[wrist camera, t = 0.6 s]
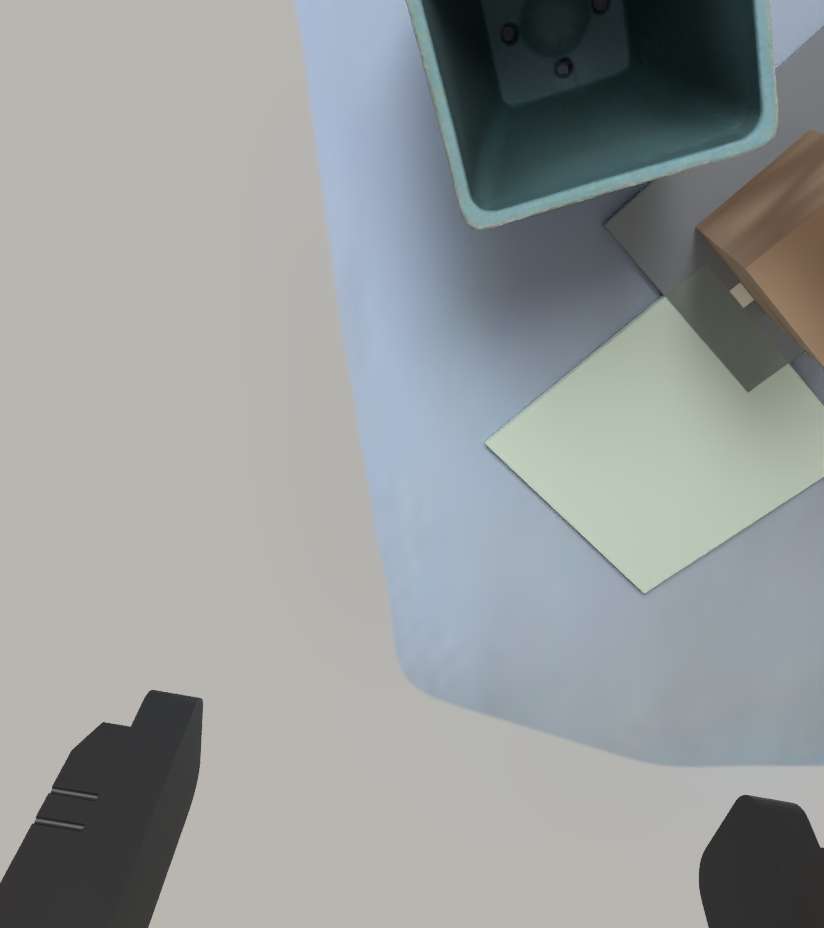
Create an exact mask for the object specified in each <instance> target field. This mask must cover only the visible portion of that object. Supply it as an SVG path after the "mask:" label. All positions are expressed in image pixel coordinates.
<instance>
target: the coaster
mask: <svg viewBox="0 0 824 928" xmlns="http://www.w3.org/2000/svg"><path fill="white" fill-rule="evenodd" d="M706 264H707V263H706ZM703 266H704V267H706V266H707V265H703ZM704 267H703V269H704V270H705V269H706V268H707V269H708V268H709V269H711V268H710V266H709V265H708V266H707V267H706V268H704ZM701 269H702V267H701ZM701 269H699V270H698V272H697V271H696V272H695V273H694V274H696V275H694V274H692V277H691V276H690V278H692V279H693V278H694V277H695V276H697V275H699V274H700V276H697V277H696V278H697V279H698V277H699V279H701V278H700V277H702V279H706V280H707V281H708V279H709V282H706V280H704V281H703V280H698V281H701V282H700V284H699V283H698V282H697V279H696V278H695V280H694V281H695V282H694V281H693V280H690V278H688V280H687V279H686V280H687V281H689V280H690V282H693V283H694V285H693V286H692V288H693V290H689V289H692V288H689V289H687V290H688V291H689V292H688V291H687V290H686V289H685V288H687V287H690V286H691V285H692V284H693V283H689V284H690V285H688V283H687V282H684V283H686V284H687V285H688V286H687V287H686V285H685V288H684V285H683V284H684V283H683V284H682V286H680V285H679V286H680V288H682V289H680V288H678V289H677V288H675V289H676V291H677V293H675V292H676V291H675V289H674V290H673V291H672V292H673V294H675V296H674V295H673V294H671V293H672V292H671V293H669V294H671V295H669V296H670V297H669V296H667V297H668V298H671V296H673V297H674V298H676V296H677V298H676V300H674V301H673V299H674V298H672V299H669V300H668V299H667V298H666V297H665V296H664V295H662V296H661V297H660V298H659V299H658V300H656V301H655V302H654V303H653V304H652V305H650V306H649V307H648V308H647V309H645V310H644V311H643V312H642V313H641V314H639V315H638V316H637V317H636V318H634V319H633V320H632V321H631V322H630V323H628V324H627V325H626V326H625V327H624V328H622V329H621V330H620V331H619V332H617V333H616V334H615V335H614V336H613V337H611V338H610V339H609V340H608V341H607V342H605V343H604V344H603V345H602V346H600V347H599V348H598V349H597V350H596V351H594V352H593V353H592V354H591V355H589V356H588V357H587V358H586V359H585V360H583V361H582V362H581V363H580V364H579V365H577V366H576V367H575V368H574V369H572V370H571V371H570V372H569V373H568V374H566V375H565V376H564V377H563V378H562V379H560V380H559V381H558V382H557V383H555V384H554V385H553V386H552V387H551V388H549V389H548V390H547V391H546V392H545V393H543V394H542V395H541V396H540V397H538V398H537V399H536V400H535V401H534V402H532V403H531V404H530V405H529V406H527V407H526V408H525V409H524V410H523V411H521V412H520V413H519V414H518V415H517V416H515V417H514V418H513V419H512V420H510V421H509V422H508V423H507V424H506V425H504V426H503V427H502V428H501V429H500V430H498V431H497V432H496V433H495V434H493V435H492V436H491V437H490V438H489V439H487V440H486V441H485V444H486V445H487V446H488V447H489V448H490V449H491V450H492V451H493V452H494V453H495V454H496V455H498V456H499V457H500V458H501V459H502V460H503V461H504V462H505V463H506V464H507V465H508V466H509V467H510V468H511V469H512V470H513V471H515V472H516V473H517V474H518V475H519V476H520V477H521V478H522V479H523V480H524V481H525V482H526V483H527V484H528V485H529V486H530V487H531V488H533V489H534V490H535V491H536V492H537V493H538V494H539V495H540V496H541V497H542V498H543V499H544V500H545V501H546V502H547V503H548V504H550V505H551V506H552V507H553V508H554V509H555V510H556V511H557V512H558V513H559V514H560V515H561V516H562V517H563V518H564V519H565V520H567V521H568V522H569V523H570V524H571V525H572V526H573V527H574V528H575V529H576V530H577V531H578V532H579V533H580V534H581V535H582V536H584V537H585V538H586V539H587V540H588V541H589V542H590V543H591V544H592V545H593V546H594V547H595V548H596V549H597V550H598V551H599V552H601V553H602V554H603V555H604V556H605V557H606V558H607V559H608V560H609V561H610V562H611V563H612V564H613V565H614V566H615V567H616V568H617V569H619V570H620V571H621V572H622V573H623V574H624V575H625V576H626V577H627V578H628V579H629V580H630V581H631V582H632V583H633V584H634V585H636V586H637V587H638V588H639V589H640V590H641V591H642V592H643V593H646V592H647V591H649V590H650V589H652V588H654V587H655V586H657V585H658V584H660V583H661V582H663V581H664V580H666V579H667V578H669V577H670V576H672V575H674V574H675V573H677V572H678V571H680V570H681V569H683V568H684V567H686V566H687V565H689V564H690V563H692V562H694V561H695V560H697V559H698V558H700V557H701V556H703V555H704V554H706V553H707V552H709V551H710V550H712V549H714V548H715V547H717V546H718V545H720V544H721V543H723V542H724V541H726V540H727V539H729V538H730V537H732V536H733V535H735V534H737V533H738V532H740V531H741V530H743V529H744V528H746V527H747V526H749V525H750V524H752V523H753V522H755V521H757V520H758V519H760V518H761V517H763V516H764V515H766V514H767V513H769V512H770V511H772V510H773V509H775V508H777V507H778V506H780V505H781V504H783V503H784V502H786V501H787V500H789V499H790V498H792V497H793V496H795V495H797V494H798V493H800V492H801V491H803V490H804V489H806V488H807V487H809V486H810V485H812V484H813V483H815V482H817V481H818V480H820V479H821V478H823V477H824V406H823V404H822V403H821V402H820V401H819V399H818V398H817V397H816V396H815V395H814V393H813V392H812V391H811V390H810V388H809V387H808V386H807V385H806V384H805V382H804V381H803V380H802V379H801V377H800V376H799V375H798V374H797V373H796V371H795V370H794V369H793V368H792V367H791V365H790V364H789V363H788V362H786V361H787V360H786V359H785V365H784V360H783V359H784V357H782V355H781V353H780V352H779V351H778V350H777V349H776V347H775V346H774V345H773V343H771V341H770V340H769V341H770V342H768V339H769V338H768V337H767V340H766V338H765V337H766V336H765V335H764V332H763V334H762V332H761V331H762V330H760V327H758V325H757V324H755V323H754V324H755V325H753V322H754V320H753V319H750V320H751V322H752V323H750V320H749V321H745V320H747V319H749V318H748V316H747V314H746V313H747V312H746V313H745V312H744V309H743V310H741V311H742V312H741V311H740V310H739V308H740V309H742V308H741V307H742V305H741V306H739V305H740V303H739V302H738V301H737V300H736V299H735V297H734V296H733V295H732V294H731V295H730V293H731V292H730V291H729V294H728V292H727V291H728V288H727V287H726V286H725V288H724V284H723V283H722V281H720V282H719V283H722V284H721V285H718V286H717V285H716V282H717V284H718V281H719V278H718V277H716V274H715V273H714V272H713V270H711V272H712V273H710V274H711V277H710V278H711V279H712V275H713V276H715V277H713V278H714V279H716V278H717V279H716V280H717V281H716V280H714V279H713V281H712V280H711V279H710V278H709V277H708V276H707V274H708V275H709V272H710V270H709V269H708V271H709V272H708V271H707V269H706V270H705V272H704V270H703V269H702V270H703V271H702V270H701ZM706 271H707V274H706ZM700 272H702V273H700ZM703 272H704V273H703ZM697 273H699V274H697ZM714 274H715V275H714ZM705 275H706V278H705ZM709 276H710V275H709ZM707 277H708V278H707ZM711 281H712V283H711ZM714 281H715V282H714ZM696 282H697V283H698V284H696V286H698V285H700V286H701V287H702V286H703V289H704V291H705V292H707V293H704V294H702V295H703V296H704V297H705V295H706V294H707V295H708V294H709V293H710V294H709V296H708V297H705V298H704V299H703V297H702V295H700V296H698V297H699V298H698V297H696V298H697V299H696V298H694V297H695V296H693V295H696V296H697V295H698V294H699V293H701V292H702V290H701V289H702V288H701V287H700V286H698V287H697V289H696V288H695V283H696ZM704 282H706V283H705V284H704V285H702V284H701V283H704ZM707 283H709V284H708V285H706V284H707ZM714 283H715V285H716V286H717V287H716V286H715V287H716V288H717V289H716V288H714ZM711 284H713V286H712V285H711ZM709 285H710V286H711V287H712V288H713V289H712V288H711V287H710V286H709ZM704 286H705V287H704ZM707 286H708V287H709V288H710V290H711V289H712V290H717V291H714V293H715V296H717V297H715V296H714V295H713V294H714V293H711V291H712V290H711V291H710V290H705V289H706V288H707ZM719 286H720V287H719ZM722 287H723V288H724V293H725V289H726V288H727V289H726V292H727V293H726V294H724V293H723V294H722V296H724V297H725V298H723V297H722V296H721V291H719V290H720V288H722ZM683 288H684V289H685V290H686V291H687V292H688V293H689V295H687V292H684V293H686V294H683V291H684V289H683ZM718 288H719V290H718ZM695 289H696V290H697V291H696V290H695ZM698 289H699V290H701V292H700V291H698ZM682 290H683V291H682ZM721 290H722V289H721ZM678 291H679V293H680V291H682V292H681V293H682V295H681V294H678ZM691 291H692V292H693V291H696V292H693V293H694V294H692V293H691ZM704 291H703V292H704ZM708 291H709V293H708ZM712 292H713V291H712ZM717 292H718V293H719V292H720V293H719V294H718V293H717ZM722 292H723V291H722ZM690 293H691V294H692V297H691V296H690V295H691V294H690ZM695 293H697V294H695ZM676 294H678V295H676ZM679 295H680V296H681V297H680V296H679ZM684 295H685V296H684ZM686 295H687V297H688V298H689V296H690V297H691V298H689V299H687V297H686ZM710 295H711V297H710ZM712 295H713V298H712ZM728 295H729V296H728ZM726 296H728V297H727V298H728V300H729V303H727V304H728V305H727V306H729V307H730V306H731V307H732V306H734V305H735V306H734V307H732V308H731V309H730V310H732V311H731V312H730V310H729V309H727V308H729V307H726V305H725V306H724V305H723V304H726V302H728V300H725V299H727V298H726ZM731 296H732V297H733V298H730V297H731ZM678 297H680V298H678ZM682 297H683V300H684V299H687V300H684V302H683V300H682V299H681V298H682ZM684 297H685V298H684ZM701 297H702V300H704V301H705V300H706V298H707V302H706V301H705V302H704V301H702V300H701V299H700V298H701ZM709 297H710V298H709ZM719 297H720V298H719ZM693 298H694V299H693ZM716 298H717V300H718V301H719V302H720V300H721V301H724V302H725V303H724V302H722V304H721V303H720V305H719V304H718V303H719V302H717V300H716ZM718 298H719V299H718ZM722 298H723V300H722ZM729 298H730V299H733V300H731V302H730V299H729ZM680 299H681V301H679V300H680ZM699 299H700V300H701V301H702V303H699V302H700V300H699ZM708 299H709V301H708ZM711 299H715V300H713V301H712V300H711ZM671 300H672V301H673V303H675V301H676V302H677V301H679V302H677V303H676V304H674V305H676V308H675V307H674V306H673V303H672V301H671ZM688 300H691V301H692V302H691V301H690V302H691V304H690V303H689V302H688ZM693 300H694V301H695V300H697V301H698V300H699V301H698V302H697V304H696V301H695V305H697V306H695V305H693V306H691V305H692V304H693V303H694V302H693ZM734 300H735V301H736V302H735V303H734V302H733V301H734ZM670 301H671V303H670ZM686 301H687V302H688V303H689V304H690V305H688V303H687V302H686ZM711 301H712V303H713V306H715V305H716V304H715V303H714V302H717V304H718V305H717V307H715V308H716V311H715V309H713V308H714V307H713V306H710V307H709V304H710V305H712V303H711ZM681 302H682V303H681ZM685 302H686V303H685ZM709 302H710V303H709ZM732 302H733V303H732ZM704 303H705V304H707V305H708V306H705V304H704ZM708 303H709V304H708ZM731 303H732V305H730V304H731ZM736 303H737V305H736ZM738 303H739V305H738ZM677 304H678V305H677ZM679 304H681V305H682V307H684V306H685V304H686V305H687V306H686V307H684V309H682V308H681V307H679V306H681V305H679ZM683 304H684V305H683ZM700 304H701V309H700V312H701V313H702V314H703V313H705V312H706V310H708V309H706V308H707V307H709V310H708V311H709V312H710V314H711V316H712V317H711V318H709V319H708V318H707V317H708V316H709V317H710V315H709V312H706V313H707V314H706V313H705V316H706V315H707V316H706V317H705V316H704V318H707V319H706V321H705V325H706V323H709V321H710V322H711V320H710V319H712V321H713V320H715V319H716V318H719V317H717V316H714V315H716V314H718V316H721V312H723V313H725V312H726V311H727V314H725V316H724V315H723V317H722V316H721V317H722V318H721V319H722V324H720V325H721V326H720V325H719V324H718V325H717V323H719V322H720V320H721V319H720V318H719V319H718V320H719V322H717V321H716V320H715V321H716V322H715V321H713V322H711V323H709V325H706V326H705V325H703V324H704V323H703V322H704V321H703V322H701V321H702V320H704V319H703V317H702V315H701V313H699V308H700ZM703 304H704V307H703V306H702V305H703ZM714 304H715V305H714ZM698 305H699V306H698ZM722 305H723V306H722ZM689 306H691V308H692V309H693V310H695V309H696V310H697V309H698V311H695V312H694V311H693V310H692V309H691V308H689ZM694 306H695V309H694V308H693V307H694ZM721 306H722V307H721ZM736 306H737V307H736ZM677 307H678V309H679V311H678V310H677ZM687 307H688V309H687V310H688V311H689V309H690V310H691V311H693V313H691V314H692V317H693V318H694V317H696V316H695V315H697V317H698V315H699V314H700V315H701V318H702V320H701V318H700V315H699V318H698V321H699V322H698V321H696V318H695V319H691V318H692V317H691V314H690V312H691V311H689V312H688V311H687V310H685V309H686V308H687ZM696 307H697V308H696ZM702 307H703V308H704V309H705V310H704V309H703V308H702ZM705 307H706V308H705ZM712 307H713V308H712ZM719 307H721V308H719ZM735 307H736V308H735ZM710 308H712V309H711V311H712V313H713V314H714V312H716V313H715V314H714V315H713V314H712V313H711V311H710ZM717 308H718V309H720V311H719V310H718V309H717ZM722 308H723V309H722ZM733 308H735V310H734V309H733ZM737 308H738V310H737ZM680 309H681V311H680ZM721 309H722V310H721ZM724 309H725V310H726V311H724ZM683 310H684V311H686V312H684V311H683ZM701 310H702V311H703V310H704V311H703V312H702V311H701ZM713 310H714V312H713ZM736 310H737V311H736ZM682 311H683V312H684V313H686V314H688V313H689V314H688V315H689V316H690V317H688V316H687V315H686V314H684V313H683V312H682ZM717 311H718V312H717ZM728 311H729V313H732V314H731V315H729V313H728ZM733 311H734V312H733ZM745 311H746V310H745ZM681 312H682V316H681ZM697 312H698V313H699V314H697ZM738 312H739V313H738ZM740 312H741V314H742V315H740ZM743 312H744V313H743ZM694 313H696V314H694ZM734 313H735V314H734ZM736 313H737V315H736ZM733 314H734V315H735V317H734V316H733ZM743 314H744V315H743ZM685 315H686V316H687V318H688V319H689V320H690V319H691V320H692V321H693V320H695V321H696V322H697V323H698V324H699V326H697V325H696V324H697V323H696V322H695V321H693V322H692V321H691V320H690V322H691V324H690V323H689V322H687V321H689V320H687V318H686V317H685V318H686V319H685V318H683V316H685ZM703 315H704V314H703ZM728 315H729V316H728ZM739 315H740V316H739ZM745 315H746V316H745ZM748 315H749V314H748ZM726 316H727V317H726ZM732 316H733V317H732ZM737 316H739V317H740V319H738V318H739V317H738V318H737V319H736V320H737V321H736V322H735V319H734V320H732V319H733V318H736V317H737ZM741 316H743V317H742V318H743V319H742V318H741ZM749 316H750V315H749ZM713 317H714V319H713ZM715 317H716V318H715ZM725 317H726V318H725ZM728 317H729V318H728ZM730 317H732V318H730ZM744 317H746V318H745V320H744ZM724 318H725V319H727V318H728V319H729V322H727V323H726V322H725V319H724ZM750 318H751V316H750ZM699 319H700V320H701V321H700V320H699ZM728 319H727V320H726V321H728ZM730 319H731V320H732V321H731V320H730ZM741 319H742V320H741ZM708 320H709V321H708ZM739 320H740V321H741V322H742V323H743V321H744V326H742V325H743V324H742V323H741V322H740V321H739ZM730 321H731V322H730ZM733 321H734V322H735V323H734V324H735V325H736V323H737V324H738V322H739V324H740V323H741V324H742V325H740V328H739V327H737V326H739V324H738V325H737V326H734V325H733ZM694 322H695V323H694ZM714 322H715V323H716V324H715V323H714ZM724 322H725V323H726V324H724ZM688 323H689V324H688ZM700 323H703V324H701V326H704V327H701V326H700ZM713 323H714V325H713ZM729 323H730V324H731V323H732V325H731V326H728V325H730V324H729ZM745 323H746V324H747V325H746V326H745ZM748 323H749V324H748ZM693 324H694V325H693ZM723 324H724V325H723ZM750 324H752V325H750ZM711 325H712V326H714V329H717V331H716V330H715V331H714V329H713V328H712V326H711ZM715 325H717V326H716V328H715ZM722 325H723V326H722ZM748 325H750V326H748ZM691 326H692V327H693V326H695V327H693V328H694V329H693V328H692V327H691ZM696 326H697V328H696ZM707 326H708V327H709V329H710V330H711V329H712V330H711V331H712V332H711V331H710V330H709V329H708V328H707ZM724 326H725V327H726V326H728V327H726V328H724ZM732 326H734V327H732ZM741 326H742V327H743V328H741ZM753 326H754V327H753ZM755 326H756V327H755ZM705 327H706V328H707V329H706V328H705ZM718 327H719V328H718ZM722 327H723V328H724V329H723V328H722ZM731 327H732V328H731ZM745 327H747V328H746V329H748V330H749V329H750V330H749V331H747V330H746V329H745ZM749 327H750V328H749ZM751 327H752V329H753V328H754V329H755V328H756V329H755V331H753V332H751V333H750V334H748V332H750V331H752V329H751ZM701 328H702V330H701ZM703 328H705V329H704V330H705V331H706V332H708V331H707V330H709V331H710V332H711V333H710V332H708V333H705V332H704V333H703V331H704V330H703ZM727 328H729V333H727V334H728V336H727V334H726V332H727V331H728V329H727ZM730 328H731V331H732V333H733V330H734V329H733V328H736V330H737V328H738V329H739V330H738V331H740V332H741V331H742V332H743V331H744V332H743V333H744V335H746V336H745V339H746V340H744V343H745V344H746V343H748V342H751V343H748V344H749V346H750V344H752V345H751V346H752V347H751V348H748V347H749V346H748V345H747V348H748V349H747V348H746V345H745V344H744V343H743V340H742V339H744V335H743V334H742V332H741V334H742V335H740V332H739V334H737V332H738V331H736V330H734V333H733V334H735V333H736V335H740V336H741V337H743V338H741V340H742V341H741V340H740V341H741V342H738V339H740V336H738V337H739V338H735V337H733V335H732V334H731V332H730ZM757 328H758V329H757ZM696 329H697V330H698V329H700V331H699V332H700V333H703V334H702V335H704V334H705V335H706V336H705V335H704V337H703V338H705V341H706V340H707V339H706V337H707V338H708V339H709V340H708V342H706V343H705V342H704V341H703V338H702V335H701V334H700V333H699V332H697V333H698V334H697V333H696ZM718 329H719V333H720V329H722V330H723V331H722V330H721V334H720V335H719V333H718ZM732 329H733V330H732ZM741 329H743V330H741ZM754 329H753V330H754ZM724 330H725V331H724ZM745 330H746V333H745ZM758 330H759V331H760V332H758V333H761V336H762V337H764V336H765V337H764V338H765V340H766V341H765V340H764V338H761V336H758V334H757V332H756V331H758ZM701 331H702V332H701ZM716 332H717V333H716ZM724 332H725V333H724ZM712 333H713V334H714V333H715V334H716V335H717V334H718V335H719V336H717V337H718V338H719V339H718V338H717V337H716V336H715V334H714V335H712ZM722 333H723V334H724V335H723V334H722ZM752 333H753V335H752V338H753V339H751V334H752ZM754 333H756V334H754ZM707 334H708V335H707ZM709 334H710V335H712V336H710V335H709ZM730 334H731V335H730ZM721 335H722V337H721V338H722V343H720V339H721V338H720V336H721ZM736 335H734V336H736ZM748 335H750V336H749V338H750V340H749V338H748V340H749V341H748V340H747V338H746V337H748ZM756 335H757V336H756ZM709 336H710V337H711V338H712V339H711V340H710V337H709ZM725 336H726V341H727V339H728V340H729V341H728V342H726V341H725ZM730 336H731V337H730ZM753 336H755V337H756V338H755V337H753ZM713 337H714V340H715V342H714V341H713ZM715 337H716V338H715ZM727 337H728V338H727ZM729 337H730V338H729ZM736 337H737V336H736ZM758 337H759V338H758ZM701 338H702V339H701ZM732 338H733V339H735V340H733V339H732ZM754 338H755V339H754ZM760 338H761V339H762V340H764V341H763V342H762V340H761V339H760ZM716 339H717V341H716ZM723 339H724V340H723ZM730 339H731V341H732V342H733V341H736V343H735V342H734V343H732V345H733V346H732V345H730V346H731V348H730V346H728V349H727V345H728V344H729V343H730V344H731V341H730ZM736 339H737V340H736ZM759 339H760V340H761V341H759ZM751 340H753V341H751ZM756 340H758V342H759V343H760V342H761V345H760V344H759V343H758V342H757V341H756ZM712 341H713V342H714V343H713V346H712V345H710V346H711V347H712V349H713V350H714V351H713V350H712V349H710V348H711V347H708V345H709V344H708V343H710V344H712ZM718 341H719V342H718ZM746 341H747V342H746ZM754 341H756V343H755V342H754ZM716 342H717V344H718V343H720V344H718V345H715V344H716ZM724 342H725V343H726V345H723V346H725V347H726V350H727V351H724V350H723V346H722V344H723V343H724ZM753 342H754V343H755V345H757V343H758V344H759V348H760V349H762V350H759V351H758V352H757V350H758V349H759V348H758V345H757V346H755V345H754V344H753ZM764 342H765V343H766V342H768V343H769V344H770V343H771V344H772V345H773V346H774V347H773V348H772V347H768V343H766V346H765V344H764ZM738 343H739V344H740V346H738V349H739V347H741V346H742V345H743V344H744V346H745V347H744V346H742V347H743V350H742V349H739V351H738V349H737V345H739V344H738ZM741 343H743V344H742V345H741ZM762 343H763V344H764V345H763V347H761V346H762ZM734 344H737V345H734ZM771 344H770V346H772V345H771ZM714 345H715V346H716V347H717V348H718V346H719V345H720V346H719V347H720V348H722V349H721V350H722V352H721V351H720V350H719V349H720V348H718V349H716V347H715V346H714ZM753 345H754V346H755V348H756V347H757V348H758V349H757V350H754V348H753ZM713 347H714V348H713ZM725 347H724V349H725ZM742 347H741V348H742ZM765 347H766V349H767V351H768V354H770V352H772V351H775V349H776V351H777V352H773V354H771V355H768V354H767V353H766V354H767V355H766V354H765V352H767V351H766V350H765ZM734 348H735V349H736V353H737V352H740V353H742V355H741V354H740V353H739V355H741V356H739V355H738V353H737V354H736V353H735V350H734ZM745 348H746V349H747V350H748V351H746V352H745ZM763 348H764V349H763ZM768 348H769V349H771V348H772V349H773V350H771V351H770V350H769V349H768ZM774 348H775V349H774ZM715 349H716V350H717V351H720V354H719V357H720V355H721V357H720V359H719V358H718V353H719V352H718V353H715V354H714V353H713V352H715ZM730 349H731V350H730ZM732 349H733V350H734V352H732V351H733V350H732ZM740 350H741V351H740ZM750 350H751V352H749V351H750ZM752 350H754V351H753V352H754V353H755V354H753V355H754V356H755V355H757V354H758V353H759V356H760V355H762V353H763V354H764V355H766V358H765V356H764V355H762V356H761V357H758V355H757V357H756V356H755V357H756V358H757V359H756V360H757V361H756V360H755V361H753V362H754V363H755V362H756V363H755V365H754V364H753V363H752V361H751V360H754V358H755V357H754V356H753V355H752V354H751V353H753V352H752ZM763 350H765V352H762V351H763ZM712 351H713V352H712ZM723 351H724V352H723ZM729 351H731V352H730V354H731V353H732V354H731V355H729V353H728V352H729ZM760 351H761V352H762V353H761V354H760ZM769 351H770V352H769ZM756 352H757V353H756ZM723 353H727V355H726V354H725V355H726V357H724V355H723ZM743 353H744V354H745V353H746V354H747V353H749V354H750V355H749V354H748V355H749V356H750V357H747V356H748V355H746V354H745V355H746V356H745V358H746V359H744V358H743V357H744V355H743ZM774 353H775V354H776V355H774ZM777 353H778V354H779V355H780V356H781V358H782V359H781V360H782V361H781V362H780V356H779V355H777ZM733 354H735V355H734V357H733ZM722 355H723V356H722ZM728 355H729V357H730V356H731V357H733V358H735V359H734V360H736V359H738V357H742V356H743V357H742V359H738V360H736V361H737V362H736V361H735V362H734V364H735V365H736V363H737V365H738V367H740V366H741V369H739V368H738V367H736V366H737V365H736V366H735V365H734V364H733V363H732V362H733V360H732V359H731V360H732V361H730V358H731V357H730V358H729V357H727V356H728ZM773 355H774V356H776V357H775V358H777V357H778V358H777V359H775V358H774V357H773ZM735 356H738V357H737V358H736V357H735ZM768 356H769V358H768ZM770 356H772V357H771V359H770ZM723 357H724V359H722V362H723V361H724V362H725V363H726V365H727V366H724V365H725V364H723V363H724V362H723V363H722V362H721V358H723ZM751 357H752V358H753V357H754V358H753V359H750V358H751ZM763 357H764V358H765V360H764V358H763ZM728 358H729V360H728ZM747 358H749V360H748V361H750V363H749V362H748V361H747V362H745V361H746V360H747ZM772 358H773V359H772ZM725 359H726V360H725ZM743 359H744V360H743ZM759 359H763V360H764V362H763V361H762V360H761V361H759V363H760V364H757V362H758V360H759ZM769 359H770V360H771V361H770V360H769ZM740 360H741V362H739V361H740ZM773 360H775V361H773ZM776 360H777V361H776ZM726 361H727V362H726ZM728 361H730V362H731V363H732V364H731V363H728ZM743 361H744V362H745V363H749V364H748V365H750V366H752V365H753V366H756V365H758V366H756V367H757V368H758V370H759V371H758V370H757V369H756V368H755V369H756V371H758V373H759V372H761V370H762V369H761V368H762V367H763V369H764V367H765V369H764V371H763V372H762V373H761V375H762V376H763V373H764V372H766V374H765V373H764V374H765V375H764V376H763V377H765V379H766V377H767V379H766V380H764V379H763V377H762V376H761V375H760V374H758V373H757V372H756V371H755V369H753V367H750V366H748V367H746V365H745V363H744V365H745V366H744V365H743V364H741V363H743ZM766 361H767V362H769V361H770V362H772V361H773V364H772V363H771V364H770V363H768V364H767V363H765V362H766ZM761 362H762V363H761ZM777 362H779V364H781V366H780V365H779V364H778V366H779V368H780V367H781V369H779V368H778V366H777V364H776V363H777ZM739 363H740V364H741V365H740V366H739ZM763 363H765V364H763ZM782 363H783V365H782ZM787 363H788V364H787ZM762 364H763V365H762ZM774 364H775V365H774ZM729 365H732V367H733V368H735V367H736V368H737V369H736V368H735V369H736V370H735V369H733V368H732V367H730V368H731V371H732V369H733V370H734V372H735V374H737V376H738V374H740V376H738V378H739V379H738V378H735V377H736V375H735V374H734V372H733V371H732V374H733V375H732V374H731V373H730V370H729V369H730V368H729V369H727V367H729ZM742 365H743V366H744V367H743V370H744V371H745V369H746V373H753V371H754V373H753V375H752V376H749V375H748V374H746V375H745V376H744V375H743V374H745V372H743V371H742ZM759 365H761V367H759ZM765 365H769V366H771V365H772V366H771V367H769V366H767V367H766V366H765ZM773 365H774V366H773ZM734 366H735V367H734ZM775 366H776V367H777V368H778V369H777V368H775ZM749 367H750V368H749ZM768 367H769V369H770V371H771V373H772V372H773V373H772V374H773V375H772V374H771V376H770V375H768V373H769V374H770V371H768V373H767V371H765V370H766V369H767V370H769V369H768ZM773 367H774V368H775V369H773ZM782 367H783V368H782ZM744 368H745V369H744ZM748 368H749V369H750V370H751V371H750V370H749V369H748ZM751 368H752V369H751ZM759 368H760V369H761V370H760V369H759ZM771 368H772V369H773V370H772V369H771ZM738 369H739V370H738ZM747 369H748V370H747ZM776 369H777V371H776V373H774V372H775V370H776ZM752 370H753V371H752ZM736 371H737V372H736ZM738 371H739V372H740V371H742V372H743V373H742V374H741V373H738ZM747 371H748V372H747ZM749 371H750V372H749ZM755 373H756V374H755ZM757 374H758V375H757ZM734 375H735V377H734ZM741 375H743V377H742V376H741ZM754 375H755V378H754V379H755V380H754V379H753V376H754ZM767 375H768V376H769V377H768V376H767ZM746 376H747V377H746ZM759 376H760V377H759ZM740 377H741V379H740ZM744 377H746V378H748V379H750V380H749V381H750V382H751V383H749V382H748V383H749V384H745V387H743V386H742V385H744V383H747V381H748V379H746V378H745V379H746V381H745V379H743V378H744ZM749 377H750V378H749ZM757 377H758V378H757ZM751 378H752V379H751ZM759 378H760V379H761V381H760V380H759ZM742 379H743V381H742ZM762 379H763V382H762ZM738 380H741V381H739V382H738ZM751 380H752V381H751ZM757 380H759V381H758V382H757ZM755 381H756V383H758V386H756V385H757V384H756V383H754V385H755V384H756V385H755V386H756V387H755V386H754V385H752V386H754V387H752V386H751V385H750V384H753V382H755ZM740 382H742V383H741V384H740ZM743 382H744V383H743ZM761 382H762V383H761ZM748 385H750V386H751V387H752V388H753V389H752V388H751V387H750V388H751V389H750V390H751V391H750V390H749V387H748V388H746V387H747V386H748ZM744 388H746V389H744ZM746 390H748V391H749V392H748V391H746Z"/></svg>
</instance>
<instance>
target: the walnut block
mask: <svg viewBox="0 0 824 928" xmlns="http://www.w3.org/2000/svg"><path fill="white" fill-rule="evenodd" d="M696 228H697V230H698V231H699V232H700V233H701V235H702V236H703V237H704V238H705V240H706V241H707V242H708V243H709V245H710V246H711V247H712V248H713V249H714V251H715V252H716V253H717V254H718V256H719V257H720V258H721V259H722V261H723V262H724V263H725V264H726V266H727V267H728V268H729V269H730V270H731V272H732V273H733V274H734V275H735V277H736V278H737V279H738V280H739V282H740V283H741V284H742V285H743V287H744V288H745V289H746V290H747V291H748V293H749V294H750V295H751V296H752V298H753V299H754V300H755V301H756V303H757V304H758V305H759V306H760V308H761V309H762V310H763V311H764V313H765V314H766V315H767V316H768V317H769V318H770V319H771V320H772V321H774V322H775V323H776V324H777V325H778V326H779V327H780V328H781V329H782V330H783V331H784V332H785V333H786V334H788V335H789V336H790V337H791V338H792V339H793V340H794V341H795V342H796V343H797V344H798V345H799V346H800V347H802V348H803V349H804V350H805V351H806V352H807V353H808V354H809V355H810V356H811V357H812V358H813V359H815V360H816V361H817V362H818V363H819V364H820V365H821V366H822V367H823V368H824V134H823V133H820V132H816V131H813V130H809V131H808V132H807V133H806V134H804V135H803V136H802V137H801V138H800V139H799V140H797V141H796V142H795V143H794V144H793V145H791V146H790V147H789V148H788V149H787V150H786V151H784V152H783V153H782V154H781V155H780V156H778V157H777V158H776V159H775V160H774V161H773V162H771V163H770V164H769V165H768V166H767V167H765V168H764V169H763V170H762V171H761V172H760V173H758V174H757V175H756V176H755V177H754V178H752V179H751V180H750V181H749V182H748V183H747V184H745V185H744V186H743V187H742V188H741V189H739V190H738V191H737V192H736V193H735V194H734V195H732V196H731V197H730V198H729V199H728V200H726V201H725V202H724V203H723V204H722V205H721V206H719V207H718V208H717V209H716V210H715V211H714V212H712V213H711V214H710V215H709V216H708V217H706V218H705V219H704V220H703V221H702V222H701V223H699V224H698V225H697V226H696Z"/></svg>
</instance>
